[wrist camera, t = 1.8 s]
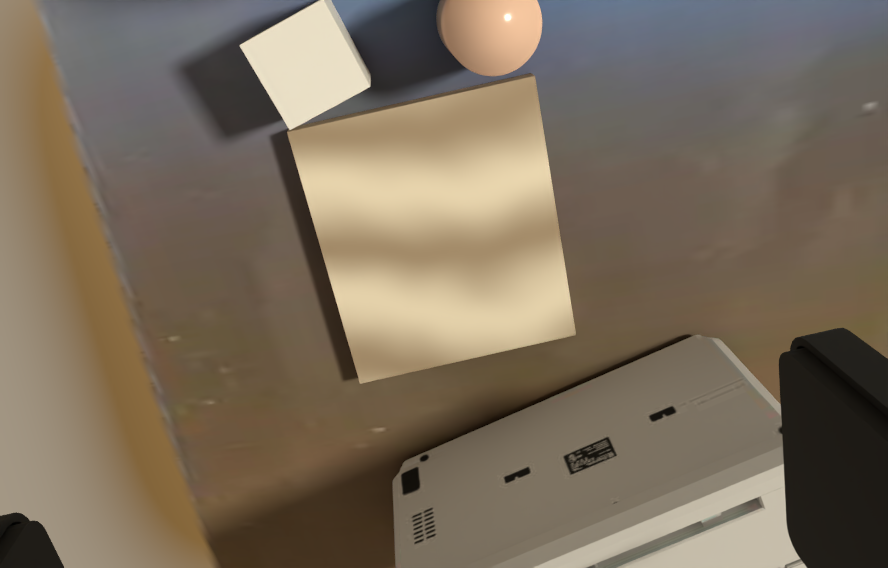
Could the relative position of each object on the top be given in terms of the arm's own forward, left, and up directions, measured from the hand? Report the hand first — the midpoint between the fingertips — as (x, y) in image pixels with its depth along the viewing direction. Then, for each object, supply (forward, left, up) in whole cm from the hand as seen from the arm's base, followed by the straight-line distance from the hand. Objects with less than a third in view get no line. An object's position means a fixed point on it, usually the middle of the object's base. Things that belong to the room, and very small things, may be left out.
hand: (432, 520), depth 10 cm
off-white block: (-3, -3, -30) cm, 31 cm away
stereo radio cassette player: (+21, +6, -31) cm, 37 cm away
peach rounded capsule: (-3, +5, -30) cm, 31 cm away
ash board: (+7, +1, -30) cm, 31 cm away
